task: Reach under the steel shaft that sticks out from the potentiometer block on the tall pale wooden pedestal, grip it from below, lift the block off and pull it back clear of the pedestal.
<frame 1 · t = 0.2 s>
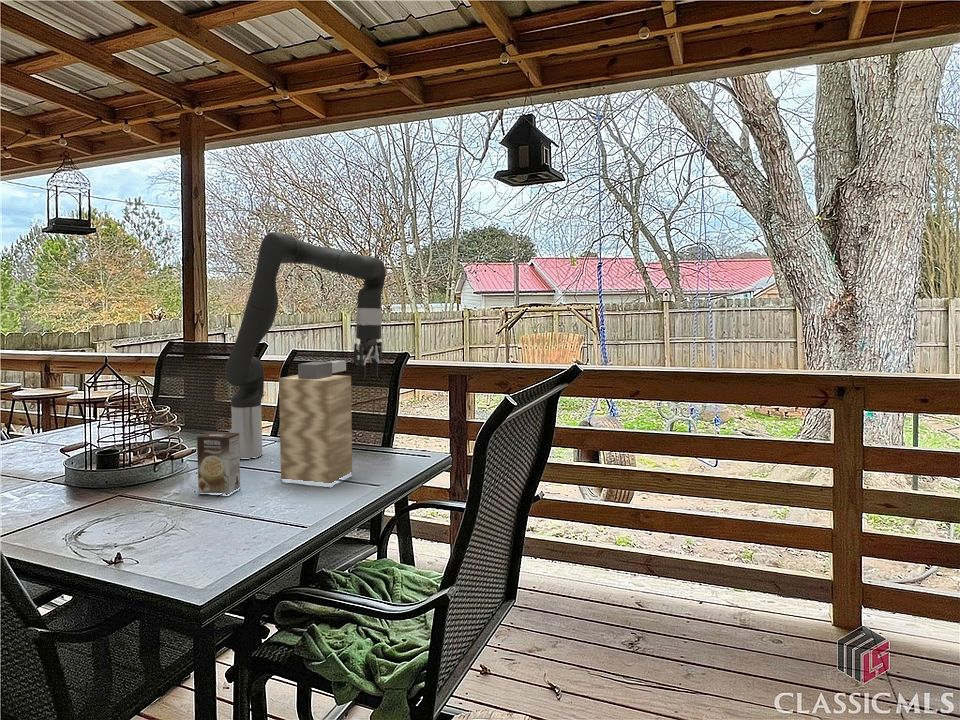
hand: (367, 376, 185), 29 cm above the table, tool pointing down, fingers open, 8 cm apart
coffee box: (219, 493, 164), on the table
potentiometer block: (323, 375, 177), point 30 cm above the table, touching pedestal
pedestal: (317, 479, 176), on the table
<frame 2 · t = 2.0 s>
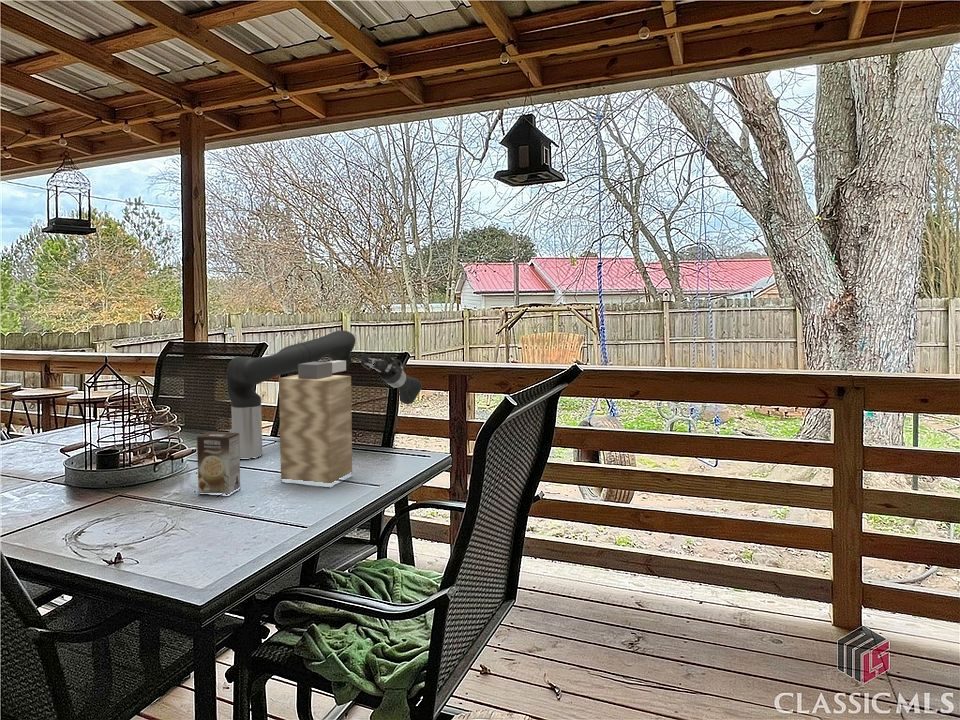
hand: (373, 356, 206), 33 cm above the table, tool pointing upward, fingers open, 8 cm apart
nothing on the table moved.
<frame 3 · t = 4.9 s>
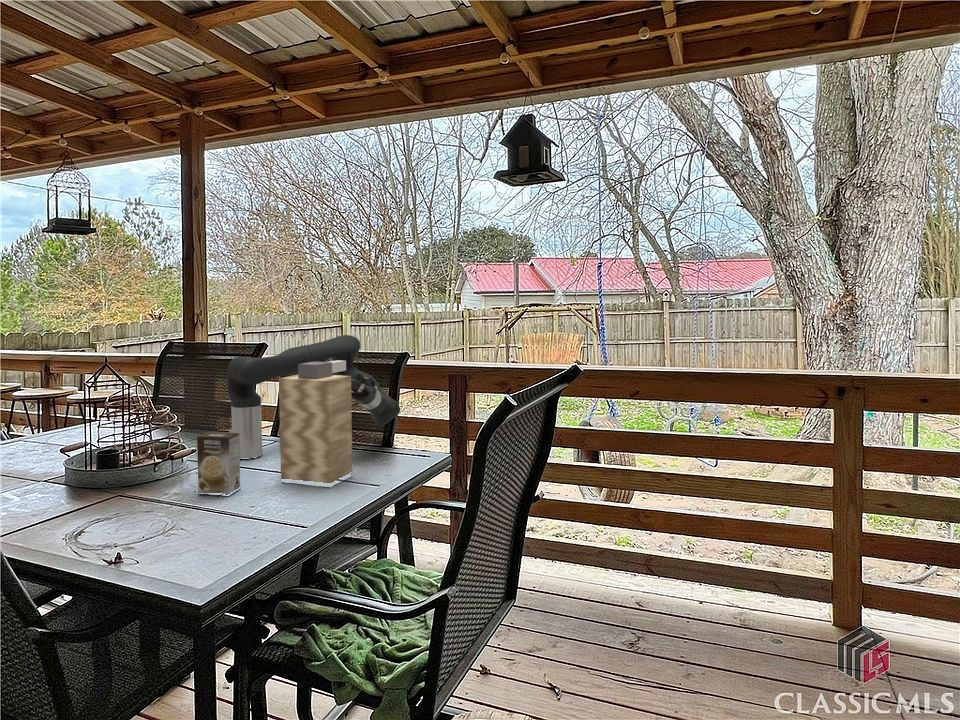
hand: (344, 375, 189), 29 cm above the table, tool pointing upward, fingers open, 8 cm apart
nothing on the table moved.
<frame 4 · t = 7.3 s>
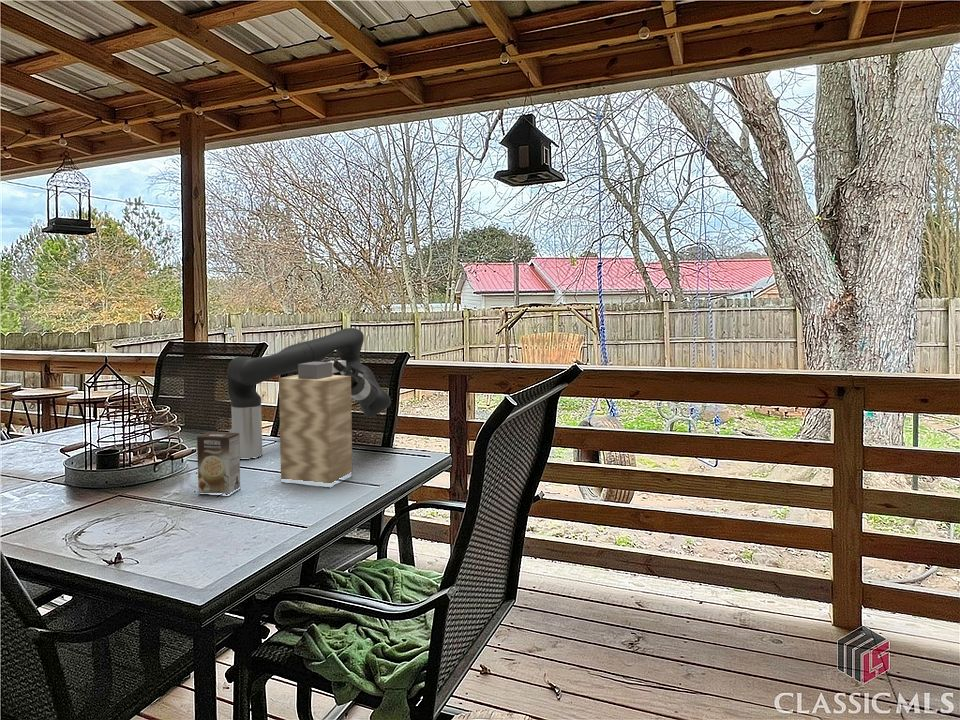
hand: (329, 362, 180), 33 cm above the table, tool pointing upward, fingers closed on potentiometer block, 3 cm apart
potentiometer block: (323, 375, 177), point 30 cm above the table, touching gripper, pedestal
everything else where it was.
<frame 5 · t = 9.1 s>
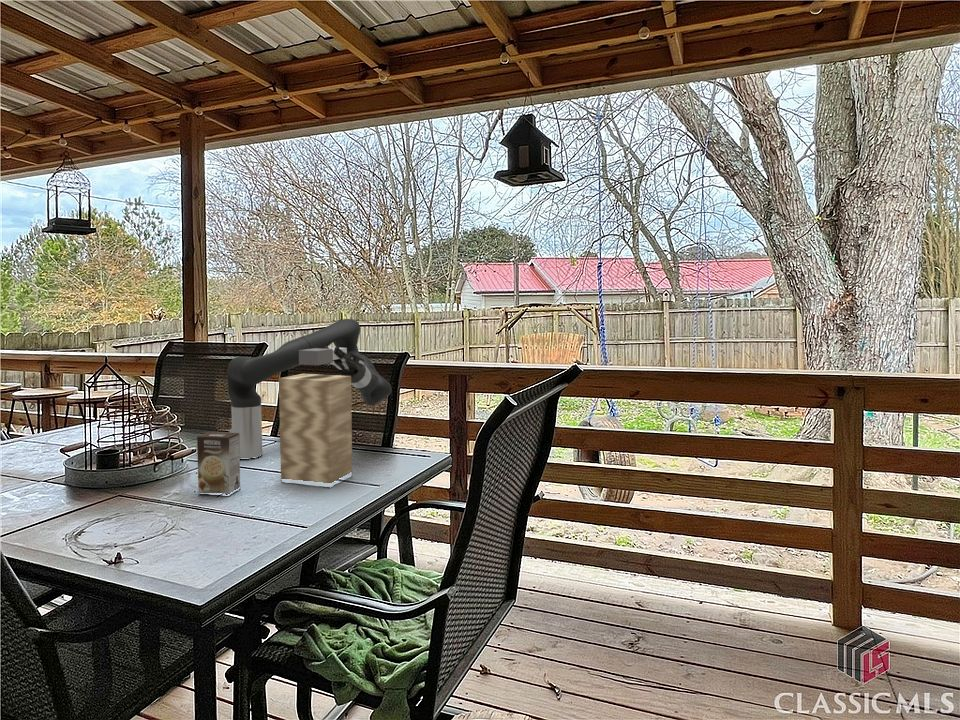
hand: (330, 349, 180), 37 cm above the table, tool pointing upward, fingers closed on potentiometer block, 3 cm apart
potentiometer block: (323, 362, 177), point 34 cm above the table, touching gripper
everything else where it was.
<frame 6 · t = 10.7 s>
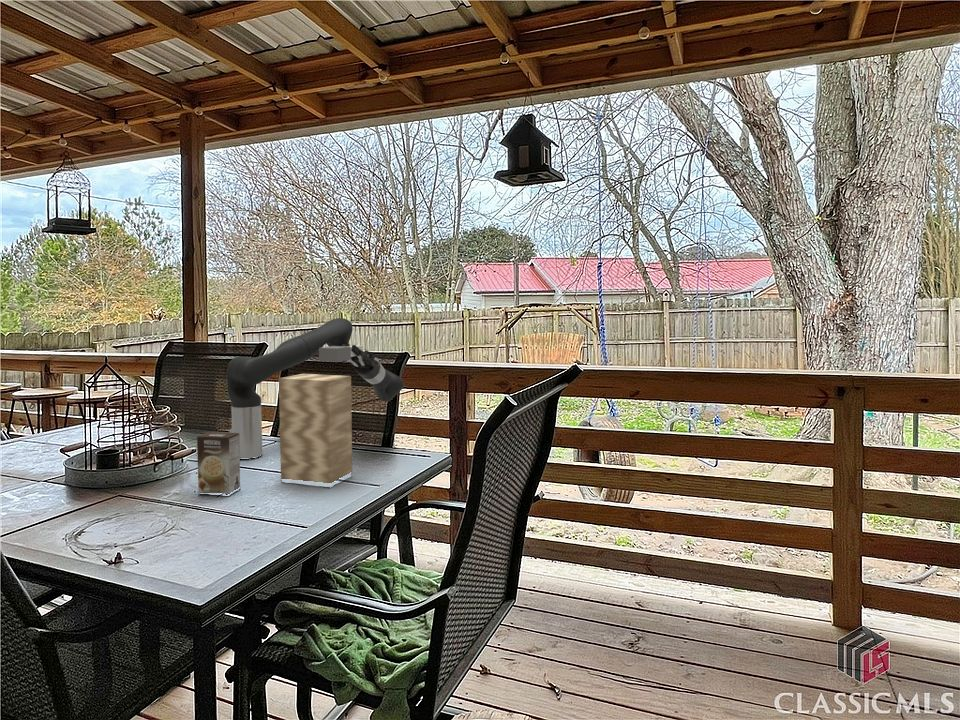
hand: (347, 347, 190), 37 cm above the table, tool pointing upward, fingers closed on potentiometer block, 3 cm apart
potentiometer block: (342, 359, 187), point 34 cm above the table, touching gripper
everything else where it was.
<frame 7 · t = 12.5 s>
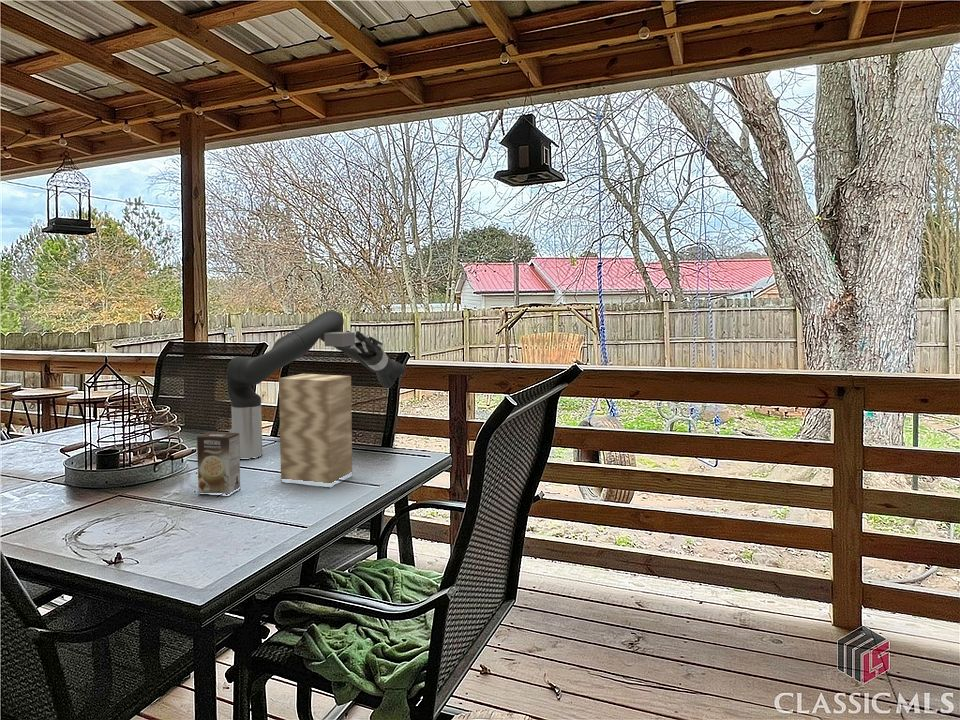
hand: (351, 333, 196), 41 cm above the table, tool pointing upward, fingers closed on potentiometer block, 3 cm apart
potentiometer block: (346, 344, 193), point 38 cm above the table, touching gripper
everything else where it was.
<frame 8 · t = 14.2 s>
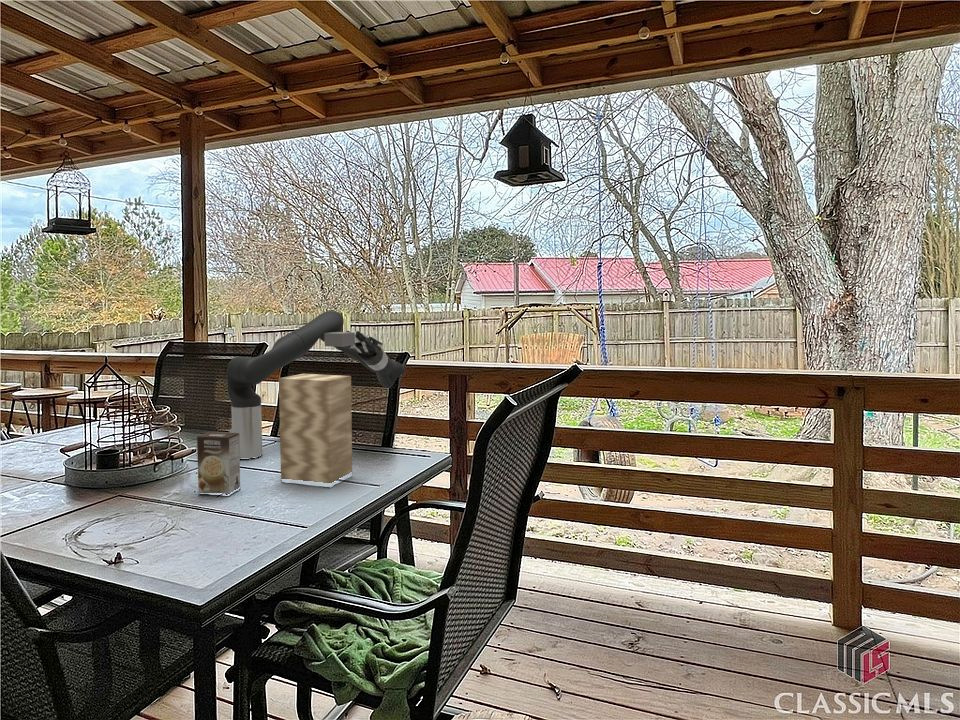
hand: (351, 333, 196), 41 cm above the table, tool pointing upward, fingers closed on potentiometer block, 3 cm apart
potentiometer block: (346, 344, 193), point 38 cm above the table, touching gripper
everything else where it was.
at the end: the gripper is holding potentiometer block; potentiometer block touching gripper; potentiometer block moved 18.8 cm from its start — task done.
